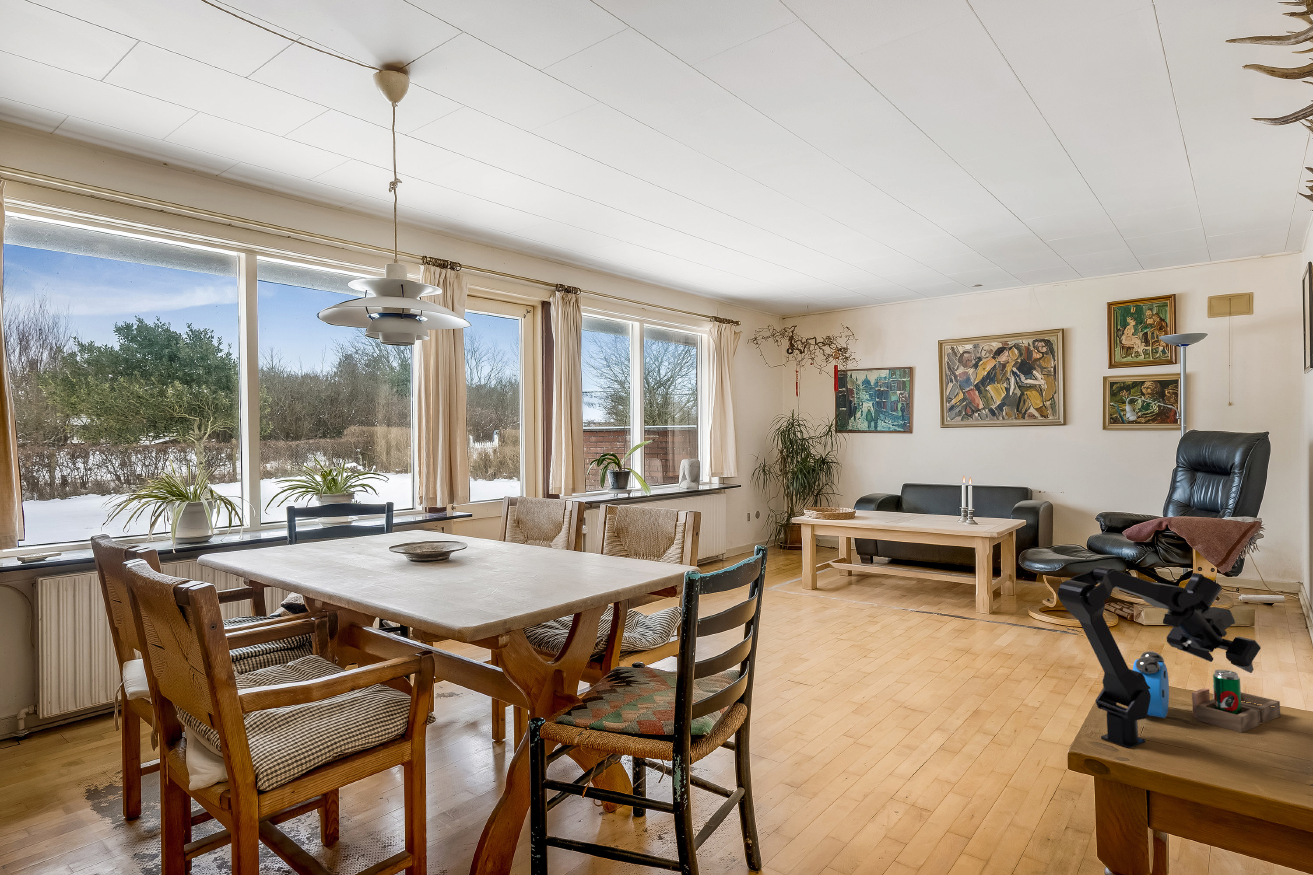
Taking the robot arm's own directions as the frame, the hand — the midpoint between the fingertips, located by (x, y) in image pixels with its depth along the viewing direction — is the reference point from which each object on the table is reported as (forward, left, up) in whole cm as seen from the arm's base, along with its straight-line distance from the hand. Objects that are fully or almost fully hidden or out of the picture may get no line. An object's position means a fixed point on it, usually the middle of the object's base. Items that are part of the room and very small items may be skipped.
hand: (1231, 665), depth 168 cm
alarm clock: (-10, +13, -14) cm, 21 cm away
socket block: (+4, +1, -14) cm, 14 cm away
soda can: (-1, +1, -14) cm, 14 cm away
